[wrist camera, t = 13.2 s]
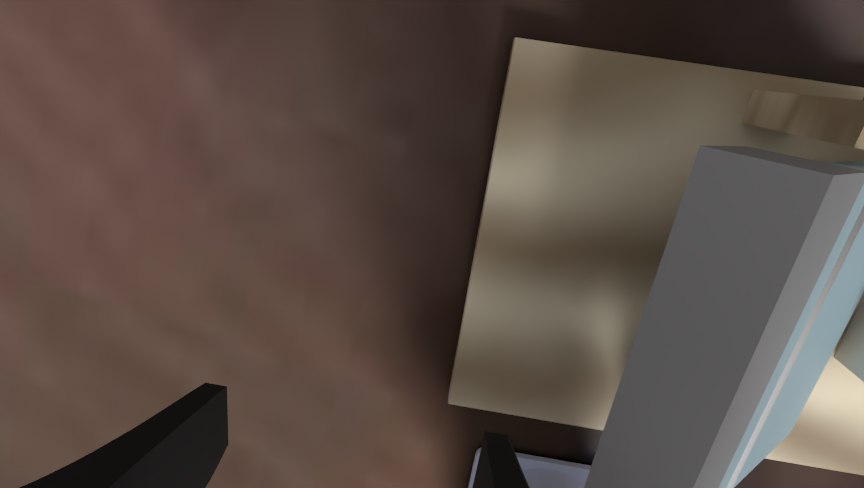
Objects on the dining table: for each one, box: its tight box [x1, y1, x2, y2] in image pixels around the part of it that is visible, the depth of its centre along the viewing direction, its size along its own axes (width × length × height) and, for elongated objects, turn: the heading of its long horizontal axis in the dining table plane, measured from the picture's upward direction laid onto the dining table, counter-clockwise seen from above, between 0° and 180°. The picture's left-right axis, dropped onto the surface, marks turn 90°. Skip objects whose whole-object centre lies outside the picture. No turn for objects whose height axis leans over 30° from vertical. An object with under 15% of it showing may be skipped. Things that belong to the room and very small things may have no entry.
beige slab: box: [448, 37, 864, 475], centre depth 18 cm, size 17×22×7 cm
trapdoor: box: [584, 146, 864, 488], centre depth 17 cm, size 12×12×3 cm
